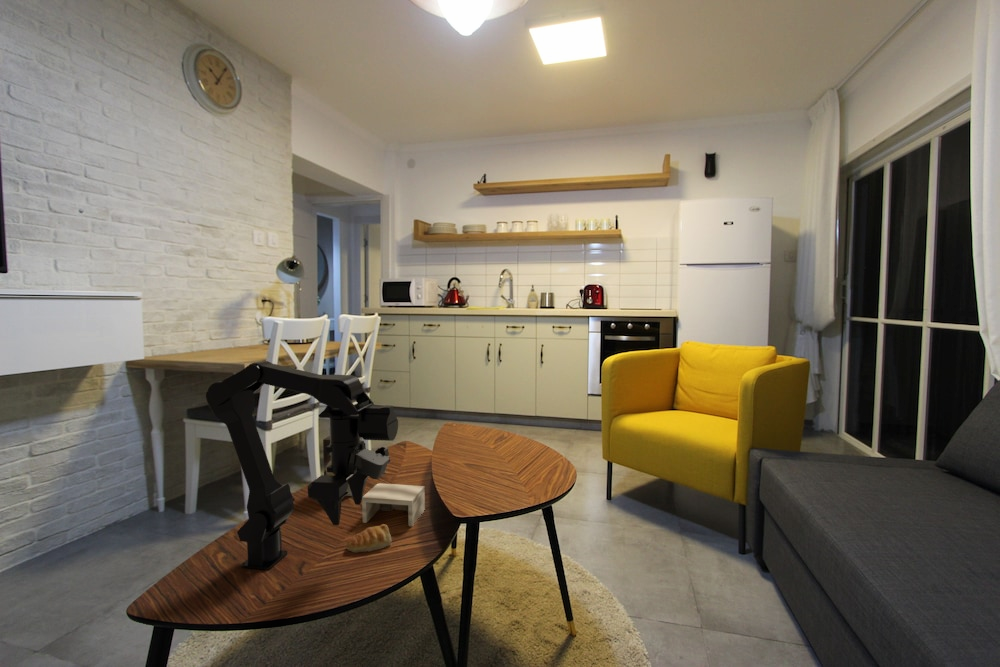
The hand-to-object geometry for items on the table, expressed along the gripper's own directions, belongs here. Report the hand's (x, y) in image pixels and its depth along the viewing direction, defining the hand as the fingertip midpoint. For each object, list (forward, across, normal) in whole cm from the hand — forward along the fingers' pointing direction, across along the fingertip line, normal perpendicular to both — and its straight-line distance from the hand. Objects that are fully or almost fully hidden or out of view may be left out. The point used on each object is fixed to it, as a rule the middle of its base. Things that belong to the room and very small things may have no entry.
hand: (347, 514), depth 92 cm
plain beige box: (+11, +23, -1) cm, 25 cm away
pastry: (+12, +9, -1) cm, 15 cm away
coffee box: (+11, +36, +20) cm, 43 cm away
